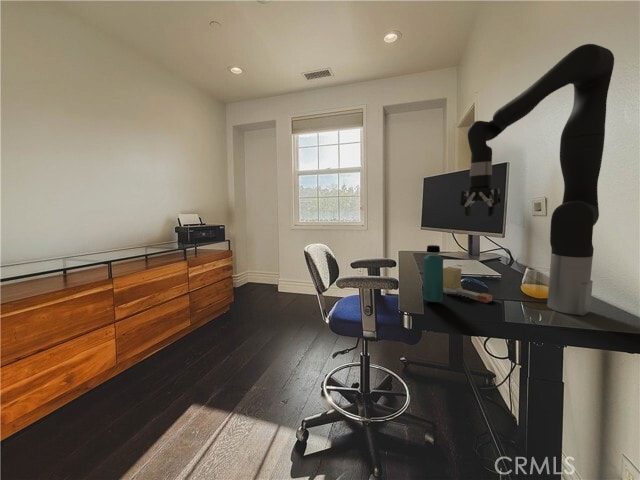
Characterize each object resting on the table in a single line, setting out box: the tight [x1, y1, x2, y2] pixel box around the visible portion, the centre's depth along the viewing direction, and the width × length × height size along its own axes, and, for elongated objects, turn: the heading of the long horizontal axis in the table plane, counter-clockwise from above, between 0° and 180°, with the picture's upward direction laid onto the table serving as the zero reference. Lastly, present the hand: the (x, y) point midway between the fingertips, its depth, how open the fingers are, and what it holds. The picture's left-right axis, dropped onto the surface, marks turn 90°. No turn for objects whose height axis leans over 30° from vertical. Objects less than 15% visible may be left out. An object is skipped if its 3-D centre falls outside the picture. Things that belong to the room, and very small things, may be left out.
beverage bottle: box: [422, 244, 444, 303], centre depth 91 cm, size 6×7×20 cm
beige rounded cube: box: [443, 266, 462, 290], centre depth 103 cm, size 5×5×7 cm
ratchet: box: [443, 286, 493, 304], centre depth 99 cm, size 18×8×5 cm, turn 33°
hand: (478, 216), depth 108 cm, fingers open, 8 cm apart
